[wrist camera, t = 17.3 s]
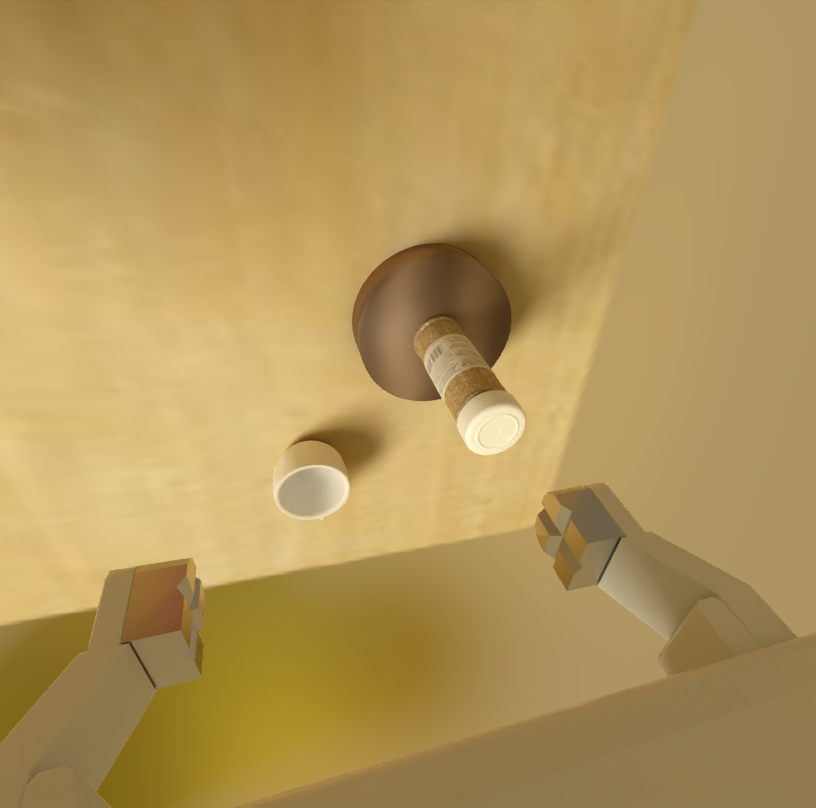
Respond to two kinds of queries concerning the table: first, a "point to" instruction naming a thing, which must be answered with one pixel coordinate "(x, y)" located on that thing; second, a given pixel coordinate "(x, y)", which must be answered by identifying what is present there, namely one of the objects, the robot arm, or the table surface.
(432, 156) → the table surface
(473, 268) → the disc
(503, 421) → the sprinkles bottle
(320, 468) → the teacup
